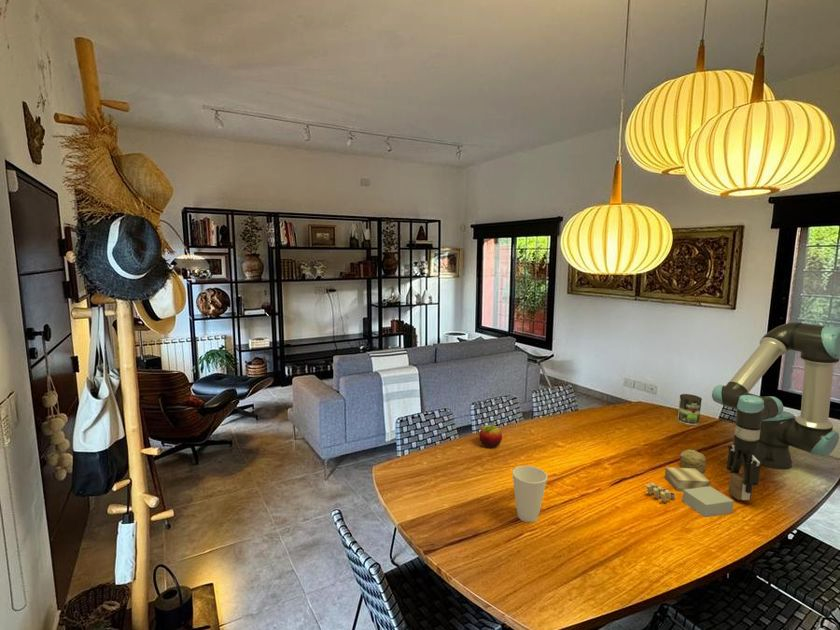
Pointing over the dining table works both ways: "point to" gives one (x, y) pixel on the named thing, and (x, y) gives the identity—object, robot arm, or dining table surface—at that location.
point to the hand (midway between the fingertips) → (739, 494)
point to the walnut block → (737, 485)
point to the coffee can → (689, 409)
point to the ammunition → (659, 492)
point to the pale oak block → (685, 478)
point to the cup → (528, 491)
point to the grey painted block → (707, 501)
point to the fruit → (490, 436)
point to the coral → (693, 460)
